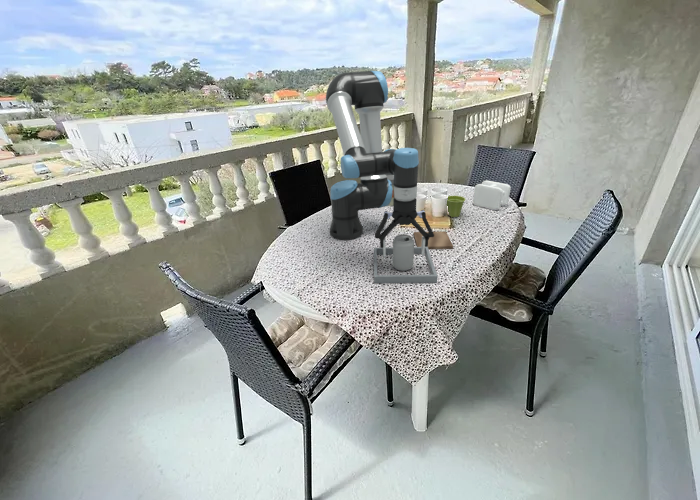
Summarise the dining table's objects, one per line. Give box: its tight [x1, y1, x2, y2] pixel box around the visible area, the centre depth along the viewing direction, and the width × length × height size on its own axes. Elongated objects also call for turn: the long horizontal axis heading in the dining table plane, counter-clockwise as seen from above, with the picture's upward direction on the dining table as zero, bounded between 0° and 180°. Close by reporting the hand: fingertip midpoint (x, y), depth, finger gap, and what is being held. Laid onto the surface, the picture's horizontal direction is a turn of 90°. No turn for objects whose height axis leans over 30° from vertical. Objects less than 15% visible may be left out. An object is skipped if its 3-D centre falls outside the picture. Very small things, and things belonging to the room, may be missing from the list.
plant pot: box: [446, 195, 466, 218], centre depth 153 cm, size 9×9×9 cm
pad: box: [412, 230, 454, 250], centre depth 131 cm, size 14×14×1 cm
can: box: [392, 233, 415, 272], centre depth 112 cm, size 8×8×12 cm
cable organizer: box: [472, 179, 511, 211], centre depth 161 cm, size 15×11×12 cm
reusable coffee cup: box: [385, 174, 394, 207], centre depth 171 cm, size 13×12×15 cm
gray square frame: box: [373, 246, 438, 284], centre depth 114 cm, size 21×21×2 cm
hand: (403, 254), depth 112 cm, fingers open, 13 cm apart
